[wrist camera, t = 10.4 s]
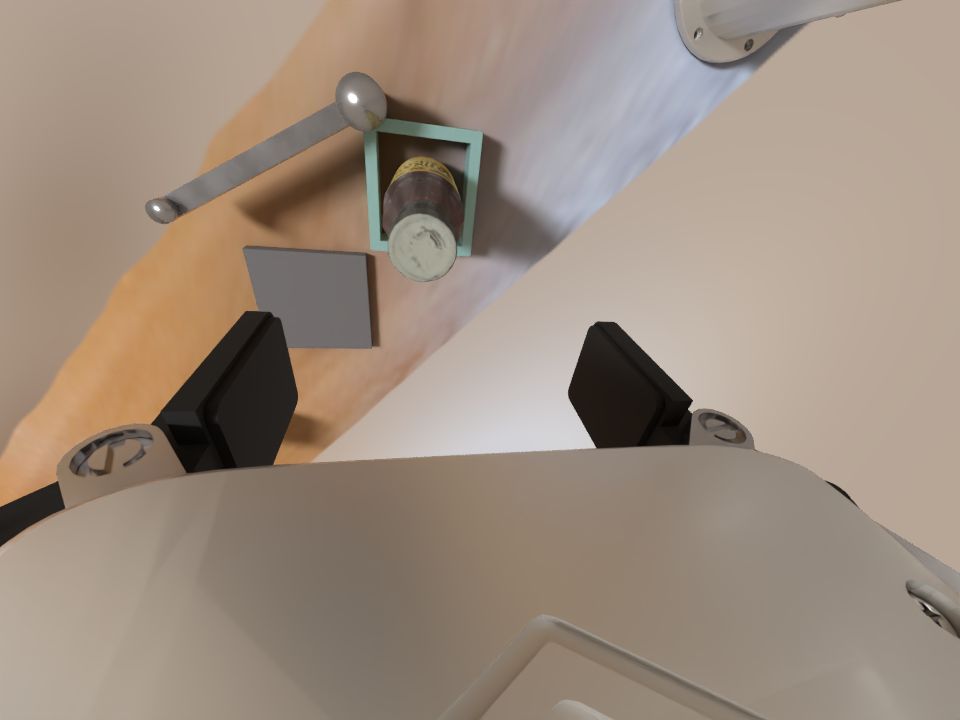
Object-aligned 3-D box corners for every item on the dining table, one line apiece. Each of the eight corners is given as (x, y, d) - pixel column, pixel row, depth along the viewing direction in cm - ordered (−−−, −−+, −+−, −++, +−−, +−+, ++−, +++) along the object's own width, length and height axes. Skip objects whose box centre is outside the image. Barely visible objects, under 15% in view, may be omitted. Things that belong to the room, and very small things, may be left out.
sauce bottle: (450, 152, 34) (485, 182, 18) (456, 218, 38) (489, 291, 22) (383, 157, 34) (359, 193, 18) (396, 223, 37) (385, 304, 21)
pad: (366, 253, 39) (365, 255, 38) (372, 344, 45) (371, 348, 44) (246, 245, 36) (242, 248, 35) (271, 343, 43) (268, 347, 42)
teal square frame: (480, 102, 33) (487, 101, 30) (466, 248, 40) (471, 258, 37) (351, 83, 30) (345, 79, 27) (362, 240, 38) (358, 251, 35)
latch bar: (395, 118, 29) (394, 118, 27) (189, 228, 31) (170, 237, 29) (371, 66, 27) (367, 61, 24) (151, 188, 29) (128, 194, 27)
